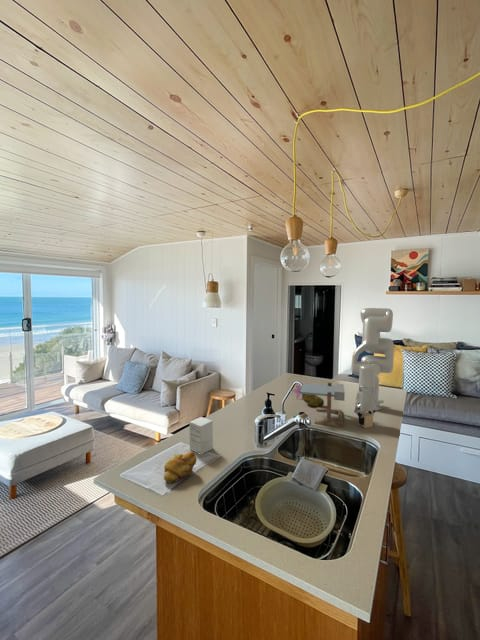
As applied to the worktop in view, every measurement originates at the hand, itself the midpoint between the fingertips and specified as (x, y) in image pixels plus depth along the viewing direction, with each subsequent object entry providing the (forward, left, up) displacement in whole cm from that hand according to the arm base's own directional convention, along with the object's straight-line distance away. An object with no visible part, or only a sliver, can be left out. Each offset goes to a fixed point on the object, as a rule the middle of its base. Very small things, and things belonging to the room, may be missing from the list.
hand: (365, 423), depth 160 cm
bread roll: (+99, +9, -1) cm, 100 cm away
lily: (+7, -49, -1) cm, 50 cm away
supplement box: (+86, -7, -1) cm, 86 cm away
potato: (+8, -35, -1) cm, 36 cm away
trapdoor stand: (+11, -15, -1) cm, 19 cm away
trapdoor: (+14, -18, +12) cm, 25 cm away
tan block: (0, 0, -1) cm, 1 cm away
